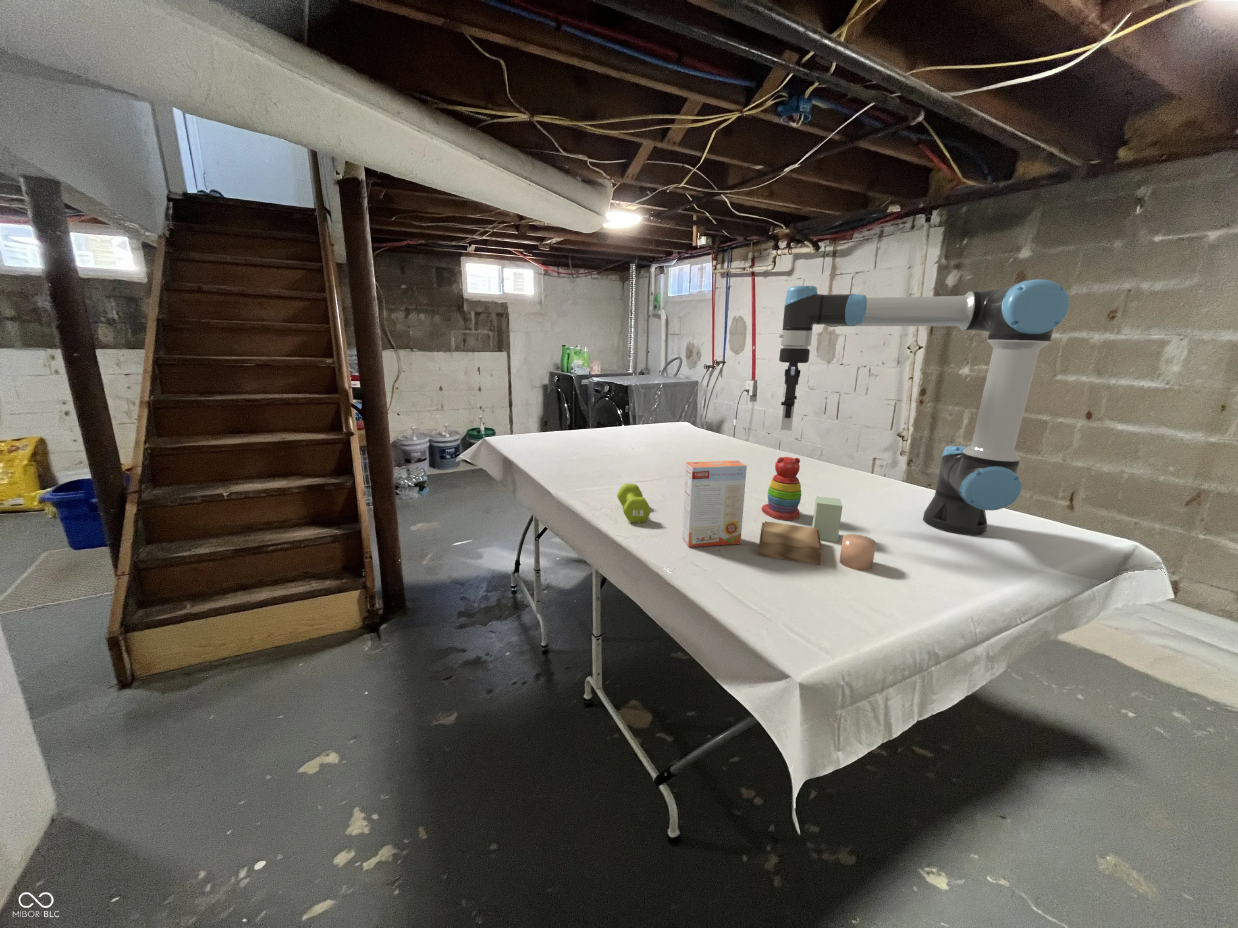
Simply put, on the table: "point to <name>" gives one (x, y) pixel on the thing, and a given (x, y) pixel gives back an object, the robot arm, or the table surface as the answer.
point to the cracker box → (713, 503)
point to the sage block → (827, 517)
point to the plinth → (790, 542)
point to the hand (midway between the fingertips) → (786, 426)
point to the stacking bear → (784, 490)
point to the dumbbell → (633, 503)
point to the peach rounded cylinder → (857, 552)
